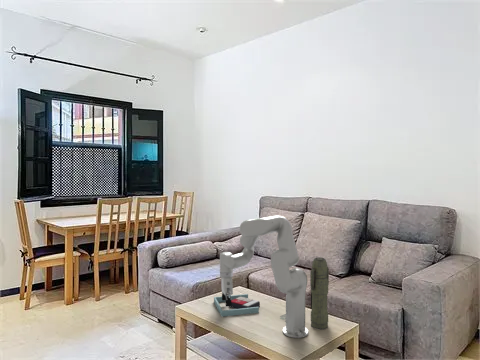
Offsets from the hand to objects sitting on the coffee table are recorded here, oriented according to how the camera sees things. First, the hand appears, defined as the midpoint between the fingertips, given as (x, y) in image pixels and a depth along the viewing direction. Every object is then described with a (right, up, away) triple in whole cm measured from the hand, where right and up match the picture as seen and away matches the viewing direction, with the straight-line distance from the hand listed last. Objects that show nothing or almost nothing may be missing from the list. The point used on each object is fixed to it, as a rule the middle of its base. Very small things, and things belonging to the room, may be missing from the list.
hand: (226, 303), depth 217 cm
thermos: (+49, -4, -24) cm, 55 cm away
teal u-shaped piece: (+6, -3, +2) cm, 7 cm away
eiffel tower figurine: (+36, -4, -13) cm, 39 cm away
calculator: (+10, -3, +2) cm, 11 cm away
